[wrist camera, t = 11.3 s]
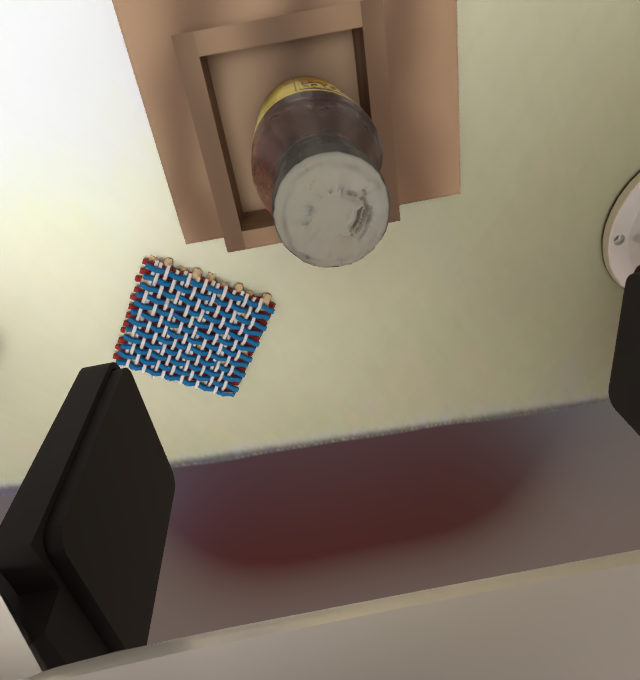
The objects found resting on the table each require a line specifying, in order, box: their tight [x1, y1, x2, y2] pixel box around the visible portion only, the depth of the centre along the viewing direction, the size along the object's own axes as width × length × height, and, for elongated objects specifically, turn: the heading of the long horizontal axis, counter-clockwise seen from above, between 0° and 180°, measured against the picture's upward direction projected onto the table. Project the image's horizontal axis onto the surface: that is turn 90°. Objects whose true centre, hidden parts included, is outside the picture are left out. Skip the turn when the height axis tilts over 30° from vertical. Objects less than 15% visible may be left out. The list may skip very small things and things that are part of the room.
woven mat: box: [113, 255, 276, 397], centre depth 43 cm, size 10×11×2 cm
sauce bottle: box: [251, 76, 390, 268], centre depth 26 cm, size 7×6×20 cm
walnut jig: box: [112, 0, 460, 252], centre depth 33 cm, size 20×16×5 cm
